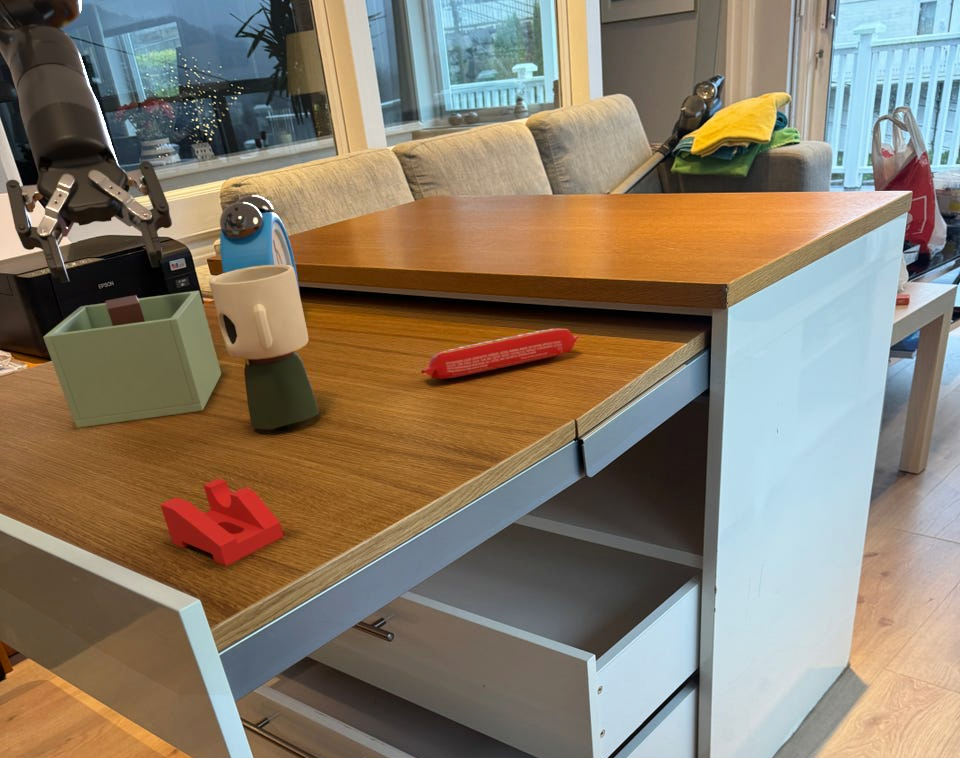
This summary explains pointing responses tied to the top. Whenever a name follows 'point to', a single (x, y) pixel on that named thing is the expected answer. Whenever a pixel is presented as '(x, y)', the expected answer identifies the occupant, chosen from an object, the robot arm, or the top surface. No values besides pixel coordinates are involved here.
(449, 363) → the packaged sausage
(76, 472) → the top surface
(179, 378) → the trash bin
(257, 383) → the character mug
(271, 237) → the alarm clock
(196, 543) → the bracket
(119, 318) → the chocolate carton
